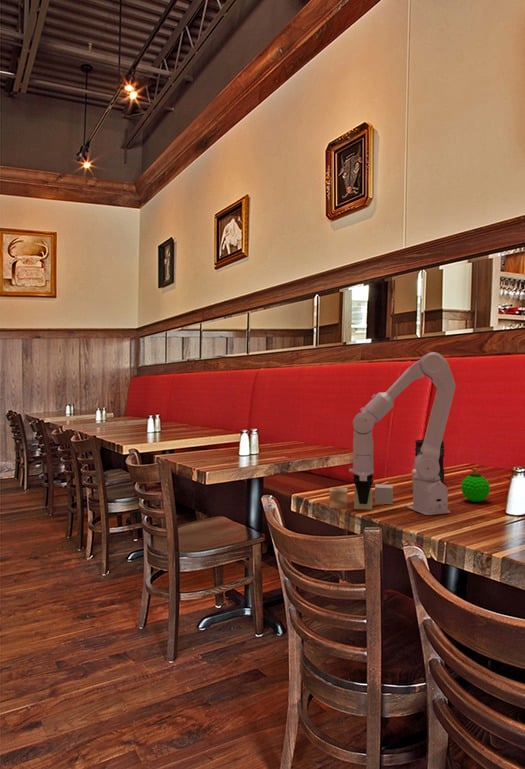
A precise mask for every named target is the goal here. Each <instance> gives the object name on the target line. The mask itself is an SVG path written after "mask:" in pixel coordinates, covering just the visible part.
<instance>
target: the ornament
mask: <svg viewBox="0 0 525 769" xmlns="http://www.w3.org/2000/svg"><path fill="white" fill-rule="evenodd" d="M478 471H479V470H478V468H477V467H473V468H472V473H471V474H469V475H467V476H466V477H465V478H463V480H462V481H461V484H460V488H461V493H462V494H463V496H464V498H466V499H467V500H468V501H471V502H473V503H480V502H482V501H484V500H486V499H487V497H488V496H489V495H490V493H491V490H490V489H491V487H490V483H489V482H488V479H486V478H485V477H484V476H482V474H479V473H478Z"/></svg>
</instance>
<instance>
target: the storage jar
mask: <svg viewBox="0 0 525 769" xmlns="http://www.w3.org/2000/svg"><path fill="white" fill-rule="evenodd" d="M423 442H424V439H416V440H415V449H414V452H415V453H414V456H415V457H416V456H417V455H418V454H419V453H420V450H421V447H422V444H423ZM444 444H445V441H444V440H442V443H441V447H440V456H439V466H440V471H439V474H438V476H440V481H441V483H443V484H444V485H445V468H444V458H445V445H444Z"/></svg>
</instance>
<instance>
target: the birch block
mask: <svg viewBox="0 0 525 769" xmlns="http://www.w3.org/2000/svg"><path fill="white" fill-rule="evenodd" d="M348 490H349V489H348V487H330V488H329V493H328V494H329V503H328V504H329V509H343V510H344V509H348V501H349V500H348V499H349V498H348V495H349V494H348Z"/></svg>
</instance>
